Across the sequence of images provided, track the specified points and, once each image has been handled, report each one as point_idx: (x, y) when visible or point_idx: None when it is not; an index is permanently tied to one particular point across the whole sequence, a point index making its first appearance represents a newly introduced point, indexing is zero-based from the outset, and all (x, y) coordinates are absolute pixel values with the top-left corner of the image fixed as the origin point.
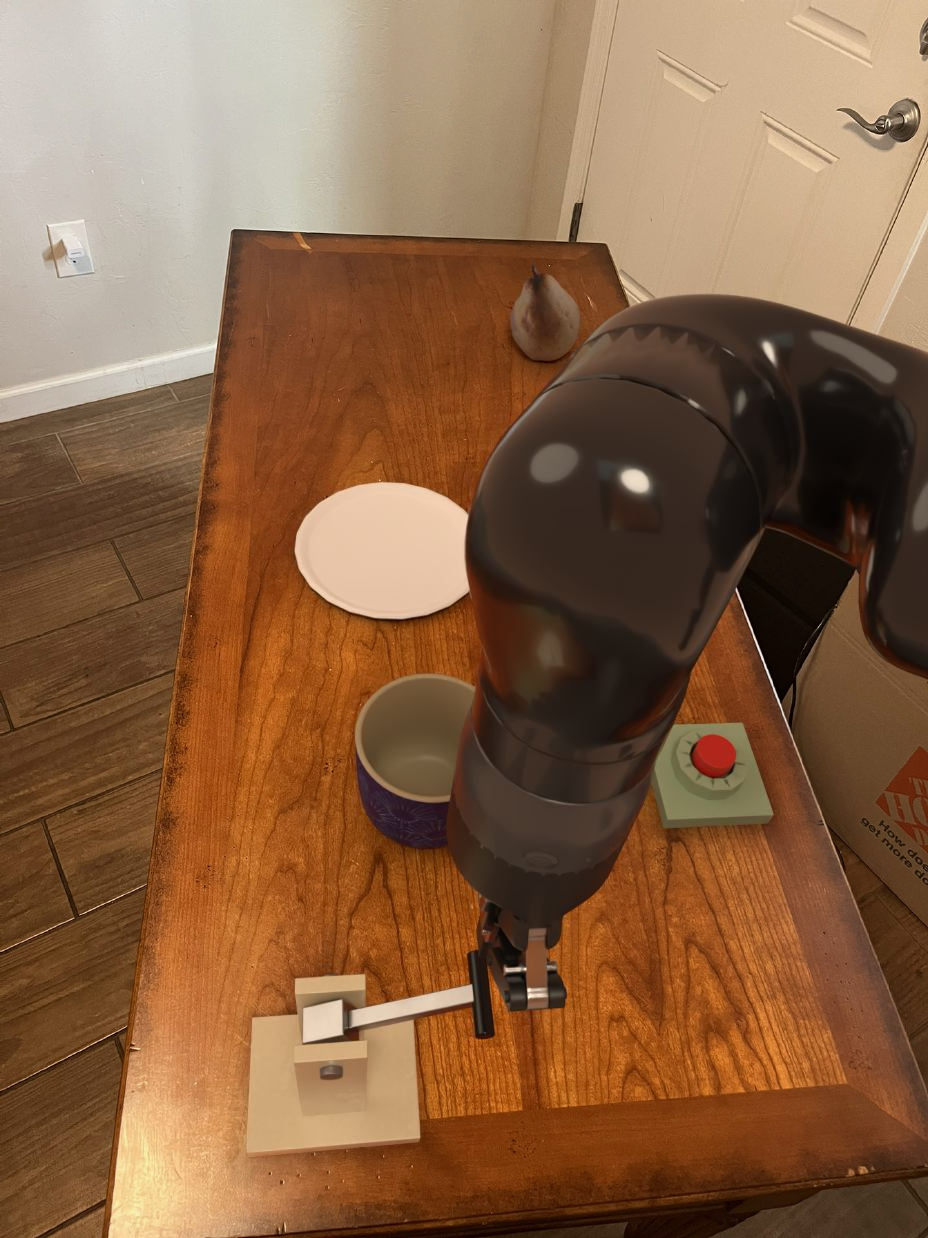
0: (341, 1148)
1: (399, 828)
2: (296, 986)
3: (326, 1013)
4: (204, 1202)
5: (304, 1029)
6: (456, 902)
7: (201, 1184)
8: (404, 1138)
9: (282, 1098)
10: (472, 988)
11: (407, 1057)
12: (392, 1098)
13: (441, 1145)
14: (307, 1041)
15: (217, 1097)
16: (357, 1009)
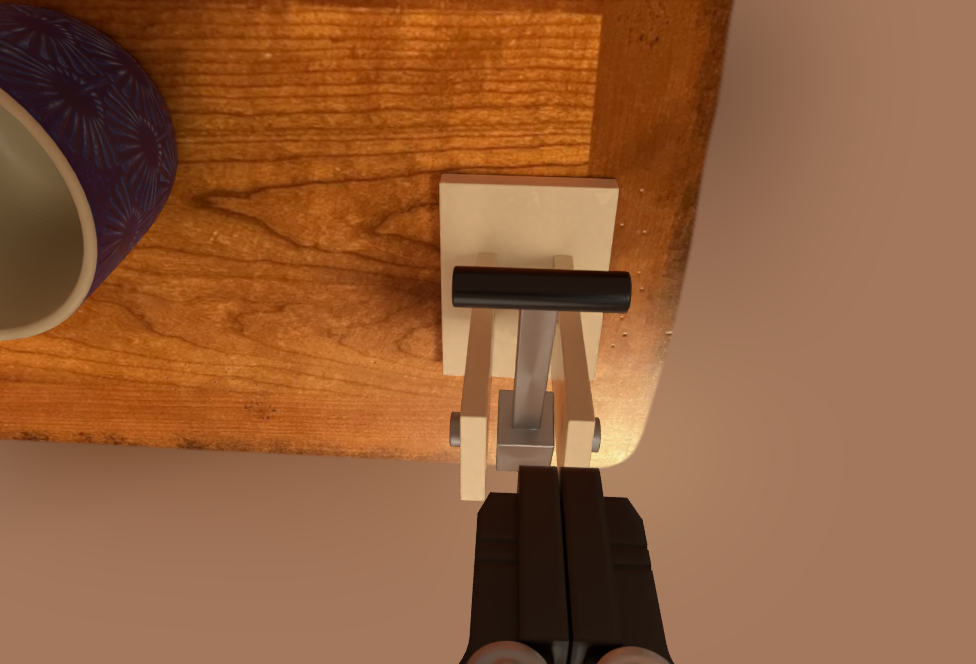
0: None
1: (151, 214)
2: (472, 498)
3: (513, 456)
4: (627, 403)
5: None
6: (263, 82)
7: (609, 406)
8: (615, 210)
9: None
10: (531, 311)
11: (511, 197)
12: (562, 221)
13: (625, 148)
14: None
15: None
16: (513, 420)
